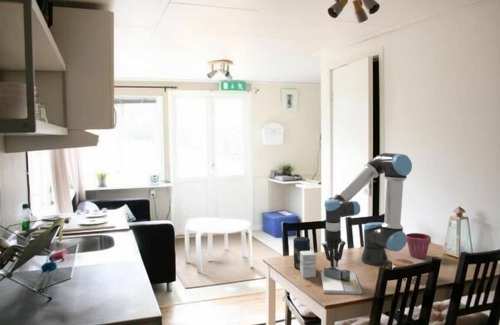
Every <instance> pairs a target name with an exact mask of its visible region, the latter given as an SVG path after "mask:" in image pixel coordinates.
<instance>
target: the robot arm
mask: <svg viewBox="0 0 500 325" xmlns="http://www.w3.org/2000/svg"><path fill="white" fill-rule="evenodd" d="M412 169H413V162H412V161H411V159H410V158H409V156H408V155H407V154H403V153H390V152H389V153H388V152H384V153H380V154H377V155H376V156H374V157H373V158H371V159H370V160H369V161H368V162H367V163H366V164H364V168H363V169H362V170H361V171H360V172H359V173H358V174H356V175H355V176H354V177H353V178H352V179H351V180H350V181H349V182H348V183H347V184H346V185H345V186H344V187H343V188H342V189H341V190H339V192H337V193H336V194H335V195H334V196H333V197H328V198H326V199H325V201H324V208H325V209H324V210H325V228H326V229H325V236H326V239H325V241H324V242H321V246H322V247H323V250H324V254H325V256H326V257H325V258H326V260H327V261H328V262H330V267H331V268H335V269H337V268H339V261H341V260H342V256H343V252H344V247H345V245H346V243H347V242H346V241H344V240H342V235H341V234H342V233H341V232H342V231H341V229H342V227H341V225H342V224H341V218H347V217H354V216H357V215H359V214H360V213H361V205H360V203H359V202H358V201H357V200H352V199H353V198H354V197H355V196H356V195H357V194H358V193H359V192H361V191H362V189H363V188H364V187H366V186H367V185H368V184H369V183H370V182H371V181H372V180H373V179H374V178H378V177H379V176H380V175H382V174H384V176H383V177H384V178H385V180H386V192H385V206H384V218H383V219H384V221H383V222H378V221H377V222H376V221H375V222H367V223H365V224H364V226H363V228H364V229H363V243H364V244H363V245H364V246H363V247H364V248H363V250H362V254H361V258H360V259H361V262H362V263H364V264H367V265H370V266H371V265H372V266H382V265H386V264H388V263H389V259H388V255H387V252H386V250H388V251H390V252H391V251H392V252H400V251H401V250H403V248H405V247H406V245H407V236H406V234H407V233H405V232H404V227H403V225H402V224H401V218H402V203H403V191H404V181H406V179H407V177H408V175H409V174H410V173H411V172H412Z"/></svg>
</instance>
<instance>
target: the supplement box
mask: <svg viewBox="0 0 500 325" xmlns="http://www.w3.org/2000/svg"><path fill="white" fill-rule="evenodd" d="M316 258H317V256H316V253H315V252H314V251H313V250H310V251H300V269H299V274H300V275H301V277H302V279H303V278H304V279H306V278H309V279H310V278H316V277H317V261H316V260H317V259H316Z"/></svg>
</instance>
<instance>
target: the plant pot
mask: <svg viewBox="0 0 500 325" xmlns="http://www.w3.org/2000/svg"><path fill="white" fill-rule="evenodd" d="M405 234H406V236H407V242H406V245H407V247H408V252H409V257H411V258H414V259H425V258H426V257H427V254H428V250H429V246H430V244H431V243H432V237H431V235H429V234H425V233H421V232H412V233H411V232H410V233H405Z"/></svg>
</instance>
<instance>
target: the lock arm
mask: <svg viewBox="0 0 500 325" xmlns="http://www.w3.org/2000/svg"><path fill="white" fill-rule="evenodd" d="M323 271H324V276H328V277H332V278H336V279H340V280H341V279H342V280H343V281H350V273H351V270H349V269H339V268H336V269H335V268H332V267H331V266H328V265H326V266H325V267H324V268H323Z"/></svg>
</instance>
